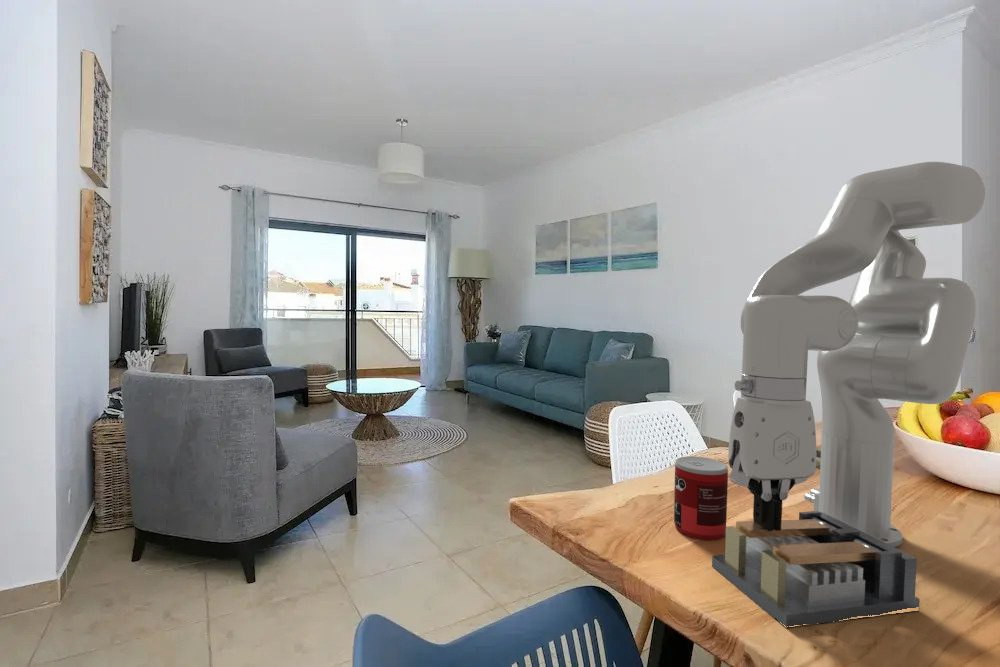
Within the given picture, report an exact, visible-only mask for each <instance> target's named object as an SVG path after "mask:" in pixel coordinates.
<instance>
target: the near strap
mask: <svg viewBox="0 0 1000 667" xmlns="http://www.w3.org/2000/svg"><path fill="white" fill-rule="evenodd" d="M876 552H882V551H880V550H878V549H876V548H874V547H873V546H871V545H869V544H867V543H865V542H863V541H861V540H859V539H855V540H854V541H853V542H840V543H817V544H794V545H773V553H774V554H776V555H777V556H779V557H780V558H782V559H783V560H785V561H786V563H788V564H789V565H796V564H815V563H834V562H853V561H872V560H876Z"/></svg>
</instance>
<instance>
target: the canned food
mask: <svg viewBox="0 0 1000 667" xmlns="http://www.w3.org/2000/svg"><path fill="white" fill-rule="evenodd" d="M674 466H675V467H674V499H673V500H674V502H673V503H674V504H673V505H674V506H673V523H674V525H675V526H674V528H676V530H677V531H678V532H679V533H680V534H682V535H684V536H686V537H689V538H692V539H697V540H701V541H702V540H703V541H715V540H720V539H722V538H723V537H724V536H725V535H726V527H727V513H728V512H727V511H728V482H729V479H728V478H729V476H728V475H729V474H728V473H729V469H728V466H729V465H727V464H726V463H724V462H723V461H720V460H718V459H714V458H710V457H705V456H692V455H691V456H689V455H688V456H681V457H678V458H676V459H675V464H674Z"/></svg>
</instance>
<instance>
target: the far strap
mask: <svg viewBox="0 0 1000 667" xmlns="http://www.w3.org/2000/svg"><path fill="white" fill-rule="evenodd" d="M735 528H736V529H738V530H739V531H741V532H742V533H744V534H745V535H746V536H747V537H749V538H764V537H791V536H817V535H831V536H832V530H833V529H837V528H835V527H833V526H831V525H829V524H827V523H825V522H823V521H821V520H819V519H817V518H815V517H812V518H811V519H804V520H799V519H781V530H778V531H776V530H773V531H768V530H767V529H765V528H764V527H762V526H760V525H759V524H757V523H755V522H754V520H750V521H749V520H747V521H746V520H744V521H743V520H742V521H736V522H735Z"/></svg>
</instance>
